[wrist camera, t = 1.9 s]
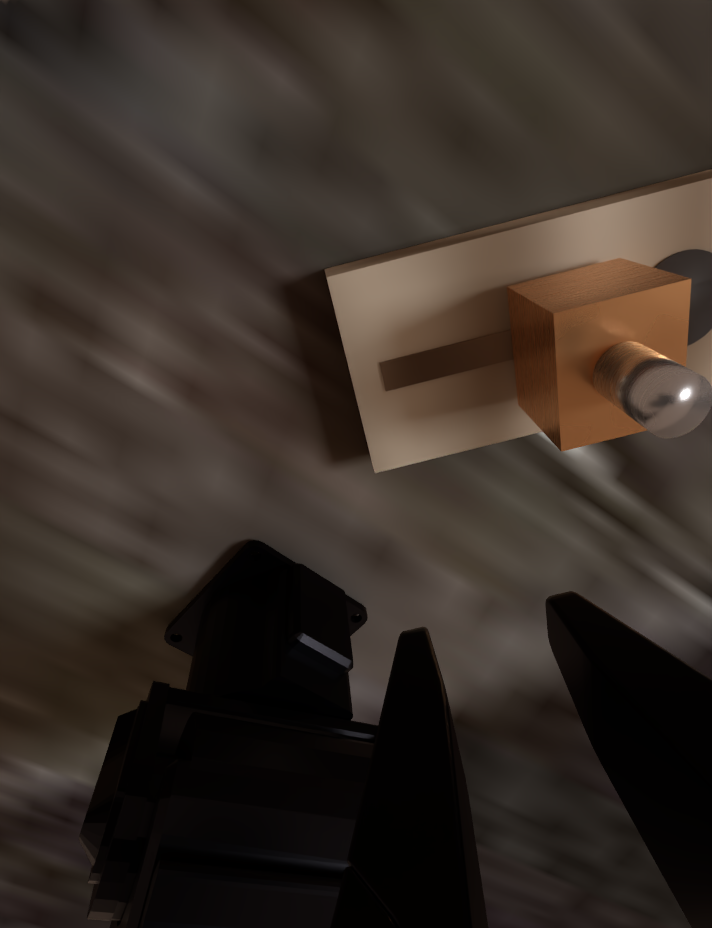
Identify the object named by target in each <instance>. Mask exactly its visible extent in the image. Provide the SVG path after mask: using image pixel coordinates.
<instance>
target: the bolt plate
mask: <svg viewBox="0 0 712 928" xmlns="http://www.w3.org/2000/svg"><path fill="white" fill-rule="evenodd" d="M617 258H622V259H626V260H629V261H633V262H636V263H640V264H643V265H646V266H650V267H653V268H657V269H660V270H664V271H667V272H670V273H674V274H677V275H681V276H684V277H688V278H691V294H690V310H689V326H688V342H687V358H686V368H688V369H690V370H692V371H694V372H696V373H698V374H700V375H702V376H703V377H705V378H706V379H707V380H708V381H709V382H710V384H711V386H712V169H710V170H706V171H702V172H698V173H694V174H691V175H687V176H683V177H679V178H675V179H671V180H667V181H664V182H660V183H656V184H652V185H648V186H644V187H640V188H636V189H633V190H629V191H625V192H621V193H617V194H613V195H609V196H605V197H602V198H598V199H594V200H590V201H586V202H582V203H578V204H574V205H571V206H567V207H563V208H559V209H555V210H551V211H547V212H543V213H540V214H536V215H532V216H528V217H524V218H520V219H516V220H512V221H509V222H505V223H501V224H497V225H493V226H489V227H485V228H481V229H478V230H474V231H470V232H466V233H462V234H458V235H454V236H450V237H447V238H443V239H439V240H435V241H431V242H427V243H423V244H419V245H416V246H412V247H408V248H404V249H400V250H396V251H392V252H388V253H385V254H381V255H377V256H373V257H369V258H365V259H361V260H357V261H354V262H350V263H346V264H342V265H338V266H334V267H330V268H326V269H324V270H325V274H326V278H327V282H328V286H329V290H330V294H331V298H332V302H333V306H334V310H335V315H336V319H337V323H338V327H339V331H340V335H341V339H342V343H343V347H344V351H345V355H346V359H347V363H348V367H349V371H350V375H351V379H352V384H353V388H354V392H355V396H356V400H357V404H358V408H359V412H360V416H361V420H362V424H363V428H364V432H365V436H366V440H367V444H368V448H369V453H370V456H371V460H372V464H373V468H374V472H375V473H378V472H382V471H386V470H390V469H394V468H398V467H402V466H406V465H410V464H414V463H418V462H422V461H426V460H430V459H434V458H438V457H442V456H446V455H450V454H454V453H458V452H462V451H466V450H470V449H474V448H478V447H482V446H486V445H490V444H494V443H498V442H502V441H506V440H510V439H514V438H518V437H522V436H526V435H530V434H534V433H538V432H542V430H541V429H540V428H539V427H538V426H537V425H536V424H535V423H534V422H533V420H532V419H531V418H530V417H529V416H528V415H527V414H526V413H525V412H524V411H523V410H522V409H521V407H520V406H519V405H518V399H517V388H516V378H515V367H514V356H513V346H512V335H511V325H510V314H509V304H508V293H507V286H511V285H515V284H519V283H523V282H527V281H531V280H535V279H538V278H542V277H546V276H550V275H554V274H558V273H562V272H566V271H570V270H574V269H578V268H582V267H585V266H589V265H593V264H597V263H601V262H605V261H609V260H613V259H617Z"/></svg>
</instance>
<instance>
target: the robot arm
mask: <svg viewBox="0 0 712 928" xmlns="http://www.w3.org/2000/svg"><path fill="white" fill-rule="evenodd" d="M252 551H257V552H259V553H260V554H259V555H252V554H251V552H252ZM354 614H359V615H358V616H352V615H354ZM546 617H547V629H548V638H549V642H550V646H551V649H552V652H553V654H554V656H555V659H556V661H557V664H558V666H559V668H560V671H561V673H562V676H563V678H564V680H565V683H566V685H567V688H568V690H569V692H570V695H571V697H572V699H573V702H574V704H575V707H576V709H577V711H578V714H579V716H580V719H581V721H582V723H583V726H584V728H585V731H586V733H587V735H588V737H589V740H590V742H591V744H592V746H593V749H594V751H595V752H596V754H597V756H598V758H599V760H600V762H601V764H602V766H603V768H604V770H605V771H606V773H607V775H608V777H609V779H610V781H611V782H612V784H613V786H614V788H615V790H616V791H617V793H618V795H619V797H620V799H621V801H622V802H623V804H624V806H625V808H626V810H627V811H628V813H629V815H630V817H631V819H632V821H633V822H634V824H635V826H636V828H637V830H638V831H639V833H640V835H641V837H642V839H643V840H644V842H645V844H646V846H647V848H648V850H649V851H650V853H651V855H652V857H653V859H654V860H655V862H656V864H657V866H658V868H659V870H660V871H661V873H662V875H663V877H664V879H665V880H666V882H667V884H668V886H669V888H670V890H671V891H672V893H673V895H674V897H675V899H676V900H677V902H678V904H679V906H680V908H681V909H682V911H683V913H684V915H685V917H686V919H687V920H688V922H689V924H690V926H691V928H712V679H710V678H709V677H707V676H705V675H704V674H702V673H701V672H699V671H698V670H696V669H695V668H693V667H691V666H690V665H688V664H687V663H685V662H684V661H682V660H681V659H679V658H677V657H676V656H674V655H673V654H671V653H670V652H668V651H667V650H665V649H663V648H662V647H660V646H659V645H657V644H656V643H654V642H652V641H651V640H649V639H648V638H646V637H645V636H643V635H642V634H640V633H638V632H637V631H635V630H634V629H632V628H631V627H629V626H628V625H626V624H624V623H623V622H621V621H620V620H618V619H617V618H615V617H614V616H612V615H610V614H609V613H607V612H606V611H604V610H603V609H601V608H599V607H598V606H596V605H595V604H593V603H592V602H590V601H589V600H587V599H585V598H584V597H582V596H581V595H579V594H578V593H575V592H572V591H569V592H565V593H561V594H557V595H552V596H549V597H548V598H547V599H546ZM366 621H367V611H366V608H365V607H364V606H363V605H362V604H360V603H359V602H357V601H355V600H354V599H352V598H351V597H349V596H347V595H346V594H345V592H344V590H342V589H341V588H339V587H338V586H336V585H334V584H333V583H331V582H330V581H328V580H326V579H325V578H323V577H322V576H320V575H318V574H317V573H315V572H314V571H312V570H311V569H309V568H307V567H306V566H304V565H303V564H299V563H295V562H293V561H292V560H290V559H289V558H287V557H285V556H284V555H282V554H281V553H279V552H277V551H276V550H274V549H273V548H271V547H269V546H268V545H266V544H265V543H263V542H261V541H256V540H253V541H250V542H248V543H246V544H245V545H244V546H243V547H242V548H241V549H240V550H239V552H238V553H237V554H236V555H235V556H234V557H233V558H232V559H231V560H230V561H229V562H228V563H227V564H226V565H225V566H224V567H223V568H222V569H221V571H220V572H219V573H218V574H217V575H216V576H215V577H214V578H213V579H212V580H211V581H210V582H209V583H208V584H207V585H206V586H205V587H204V589H203V590H202V591H201V592H200V593H199V594H198V595H197V596H196V597H195V598H194V599H193V600H192V601H191V602H190V603H189V604H188V605H187V606H186V608H185V609H184V610H183V611H182V612H181V613H180V614H179V615H178V616H177V617H176V618H175V619H174V620H173V621H172V622H171V623H170V624H169V625H168V627H167V629H166V632H165V636H164V639H165V641H166V642H167V643H168V644H169V645H171V646H173V647H175V648H177V649H179V650H181V651H183V652H185V653H187V654H189V655H191V656H193V658H192V663H191V668H190V673H189V678H188V683H187V688H186V690H182V689H177V688H171V687H169V685H170V684H167V683H162V682H156V681H153V683H152V686H151V689H150V692H149V695H148V698H147V701H143V700H141V701H140V704H139V706H138V708H137V709H136V710H133V711H130V712H128V713H125V714H123V715H120V716H118V718H117V721H116V724H115V728H114V731H113V734H112V737H111V740H110V743H109V746H108V750H107V753H106V756H105V759H104V762H103V765H102V768H101V771H100V774H99V777H98V780H97V783H96V786H95V789H94V792H93V795H92V799H91V802H90V805H89V808H88V811H87V814H86V817H85V820H84V823H83V826H82V829H81V833H80V836H79V841H80V843H81V845H82V847H83V849H84V851H85V853H86V855H87V857H88V859H89V861H90V863H91V865H92V868H91V872H90V876H89V880H88V883H94V887H93V891H92V896H91V900H90V905H89V910H88V915H87V919H93V920H106V921H110V920H112V921H111V925H110V928H488V921H487V915H486V908H485V901H484V895H483V888H482V882H481V875H480V868H479V862H478V855H477V848H476V842H475V835H474V828H473V822H472V815H471V808H470V802H469V795H468V790H467V784H466V779H465V774H464V769H463V765H462V760H461V756H460V751H459V747H458V742H457V738H456V733H455V729H454V724H453V720H452V715H451V711H450V706H449V702H448V697H447V693H446V689H445V685H444V681H443V678H442V675H441V671H440V668H439V665H438V661H437V658H436V655H435V651H434V648H433V645H432V641H431V638H430V635H429V632H428V629H427V628H426V627H420V628H415V629H411V630H407V631H403V632H402V633H401V634H400V636H399V639H398V644H397V648H396V652H395V656H394V661H393V665H392V669H391V674H390V678H389V682H388V686H387V691H386V695H385V699H384V704H383V708H382V712H381V716H380V721H379V725H373V724H367V723H362V722H356V721H351V719H352V718H353V712H352V703H351V694H350V684H349V675H348V672H349V671H350V670H351V669H352V668H353V656H352V648H351V639H350V636H351V635H352V634H353V633H355V632H356V631H357V630H358V629H359V628H360V627H361V626H362V625H363V624H365V622H366ZM176 633H177V634H180V635H174V634H176Z"/></svg>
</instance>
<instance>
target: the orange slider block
mask: <svg viewBox="0 0 712 928" xmlns="http://www.w3.org/2000/svg"><path fill="white" fill-rule="evenodd" d="M507 293H508V304H509V314H510V325H511V335H512V346H513V356H514V367H515V378H516V388H517V399H518V405H519V406H520V407H521V409H522V410H523V411H524V412H525V413H526V414H527V415H528V416H529V417H530V418H531V419H532V420H533V422H534V423H535V424H536V425H537V426H538V427H539V428H540V429H541V430H542V431H543V432H544V433H545V434H546V436H547V437H548V438H549V439H550V440H551V441H552V442H553V443H554V444H555V445H556V446H557V447H558V448H559V450H560V451H565V450H569V449H573V448H577V447H581V446H585V445H589V444H593V443H597V442H601V441H605V440H609V439H613V438H617V437H621V436H626V435H630V434H634V433H638V432H642V431H646V430H648V431H649V432H651V433H652V434H653V435H655V436H657V437H660V438H676V437H679V436H682V435H685V434H687V433H688V432H690V431H692V430H693V429H695V428H696V427H697V426H698V425H699V424H700V423H701V422H702V421H703V420H704V419H705V417H706V416H707V414H708V412H709V411H710V408H711V406H712V386H711V384H710V382H709V381H708V380H707V379H706V378H705V377H703V376H702V375H700V374H698V373H696V372H694V371H692V370H690V369H688V368H686V358H687V342H688V326H689V310H690V294H691V278H688V277H684V276H681V275H677V274H674V273H670V272H667V271H664V270H660V269H657V268H653V267H650V266H646V265H643V264H640V263H636V262H633V261H629V260H626V259H622V258H617V259H613V260H609V261H605V262H601V263H597V264H593V265H589V266H585V267H582V268H578V269H574V270H570V271H566V272H562V273H558V274H554V275H550V276H546V277H542V278H538V279H535V280H531V281H527V282H523V283H519V284H515V285H511V286H507Z"/></svg>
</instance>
